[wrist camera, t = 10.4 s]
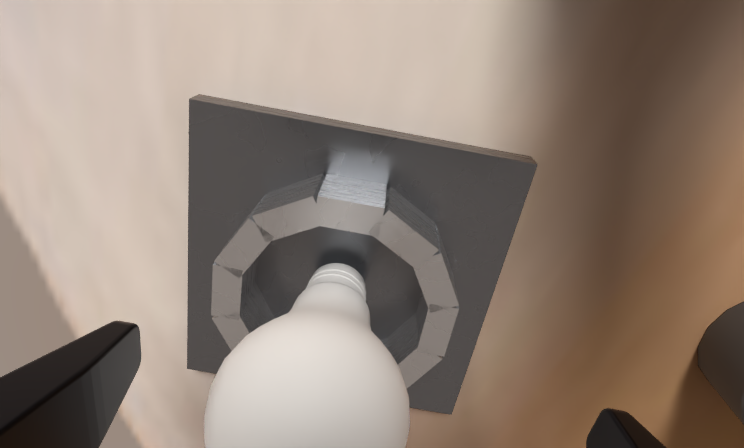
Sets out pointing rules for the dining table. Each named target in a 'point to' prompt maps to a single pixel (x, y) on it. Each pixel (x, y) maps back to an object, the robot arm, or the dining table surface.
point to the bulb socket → (346, 233)
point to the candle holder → (725, 357)
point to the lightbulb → (311, 377)
